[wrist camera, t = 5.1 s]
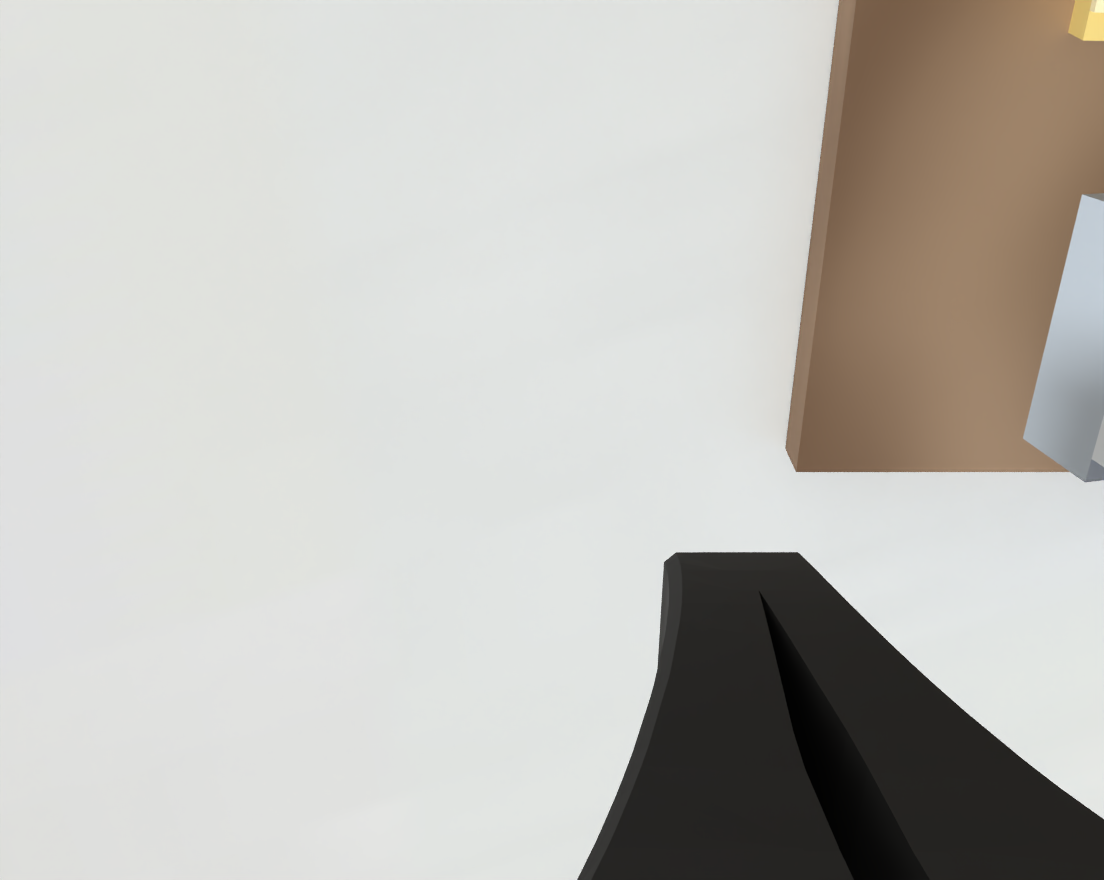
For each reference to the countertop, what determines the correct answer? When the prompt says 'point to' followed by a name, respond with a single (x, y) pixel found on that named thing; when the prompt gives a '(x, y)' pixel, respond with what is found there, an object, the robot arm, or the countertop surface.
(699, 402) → the countertop surface
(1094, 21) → the yellow rectangular block
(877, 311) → the walnut board
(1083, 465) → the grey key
